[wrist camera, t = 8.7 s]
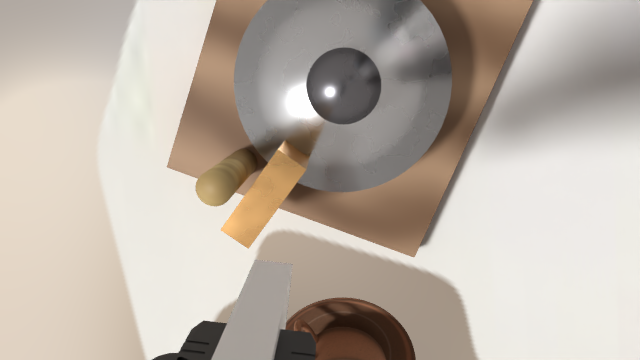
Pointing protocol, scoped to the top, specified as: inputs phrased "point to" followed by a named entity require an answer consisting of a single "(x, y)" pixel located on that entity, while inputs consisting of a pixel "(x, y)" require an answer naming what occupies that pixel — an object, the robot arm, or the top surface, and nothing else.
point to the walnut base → (358, 206)
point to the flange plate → (399, 86)
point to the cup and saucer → (352, 331)
